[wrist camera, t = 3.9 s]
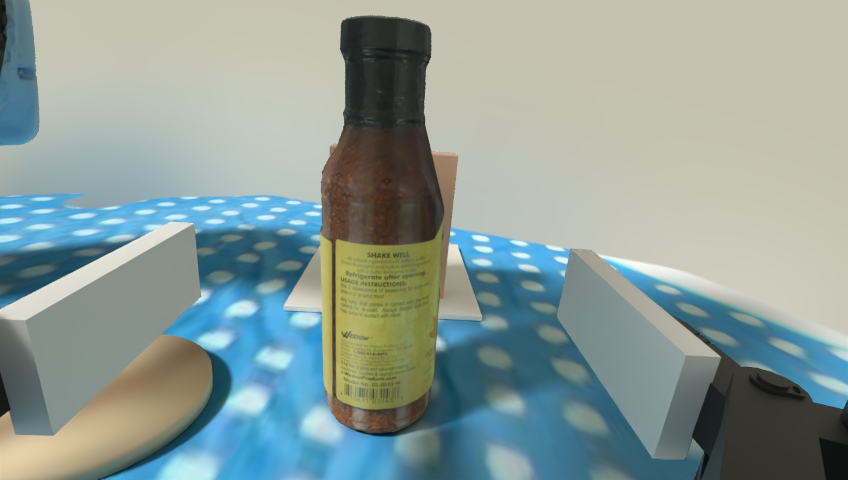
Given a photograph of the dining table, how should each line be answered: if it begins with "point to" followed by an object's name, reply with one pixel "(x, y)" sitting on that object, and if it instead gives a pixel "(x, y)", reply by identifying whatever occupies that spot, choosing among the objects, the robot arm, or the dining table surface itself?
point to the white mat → (453, 305)
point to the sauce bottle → (381, 232)
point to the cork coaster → (118, 418)
